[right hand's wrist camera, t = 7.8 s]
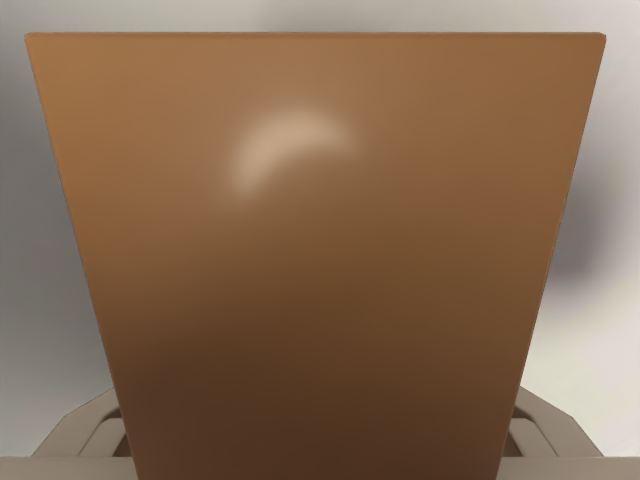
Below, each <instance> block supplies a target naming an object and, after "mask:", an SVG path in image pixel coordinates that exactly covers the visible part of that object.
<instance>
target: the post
mask: <svg viewBox="0 0 640 480" xmlns="http://www.w3.org/2000/svg"><path fill="white" fill-rule="evenodd" d="M25 44H26V48H27V51H28V55H29V59H30V63H31V67H32V71H33V75H34V79H35V82H36V86H37V90H38V94H39V98H40V102H41V106H42V109H43V113H44V117H45V121H46V125H47V129H48V133H49V137H50V140H51V144H52V148H53V152H54V156H55V160H56V164H57V168H58V171H59V175H60V179H61V183H62V187H63V191H64V195H65V199H66V202H67V206H68V210H69V214H70V218H71V222H72V226H73V229H74V233H75V237H76V241H77V245H78V249H79V253H80V257H81V260H82V264H83V268H84V272H85V276H86V280H87V284H88V288H89V291H90V295H91V299H92V303H93V307H94V311H95V315H96V319H97V322H98V326H99V330H100V334H101V338H102V342H103V346H104V350H105V353H106V357H107V361H108V365H109V369H110V373H111V377H112V380H113V384H114V388H115V392H116V396H117V400H118V404H119V408H120V411H121V415H122V419H123V423H124V427H125V431H126V435H127V439H128V442H129V446H130V450H131V454H132V458H133V462H134V466H135V470H136V473H137V477H138V480H496V478H497V474H498V470H499V466H500V462H501V458H502V454H503V450H504V446H505V442H506V438H507V434H508V430H509V426H510V422H511V418H512V414H513V410H514V406H515V402H516V398H517V394H518V390H519V386H520V382H521V378H522V374H523V370H524V366H525V362H526V358H527V354H528V350H529V346H530V342H531V338H532V334H533V330H534V326H535V322H536V318H537V315H538V311H539V307H540V303H541V299H542V295H543V291H544V287H545V283H546V279H547V275H548V271H549V267H550V263H551V259H552V255H553V251H554V247H555V243H556V239H557V235H558V231H559V227H560V223H561V219H562V215H563V211H564V207H565V203H566V199H567V195H568V191H569V187H570V183H571V179H572V175H573V171H574V167H575V163H576V159H577V155H578V151H579V147H580V143H581V139H582V135H583V131H584V127H585V123H586V119H587V115H588V111H589V107H590V103H591V99H592V95H593V91H594V87H595V84H596V80H597V76H598V72H599V68H600V64H601V60H602V56H603V52H604V48H605V44H606V35H604V34H602V33H600V32H31V33H29V34H26V35H25Z"/></svg>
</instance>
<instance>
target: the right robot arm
mask: <svg viewBox="0 0 640 480" xmlns="http://www.w3.org/2000/svg"><path fill="white" fill-rule="evenodd" d="M0 480H138V477H137V473H136V470H135V466H134V462H133V458H132V454H131V450H130V446H129V442H128V439H127V435H126V431H125V427H124V423H123V419H122V415H121V411H120V408H119V404H118V400H117V396H116V392H115V388H114V387H113V388H112V389H110V390H108V391H106V392H105V393H103V394H101V395H100V396H98V397H96V398H95V399H93V400H91V401H89V402H88V403H86V404H84V405H83V406H81V407H79V408H78V409H76V410H74V411H73V412H71V413H69V414H67V415H66V416H64V417H63V418H62V419H61V421H60V422H59V423H58V424H57V425H56V427H55V428H54V429H53V430H52V431H51V433H50V434H49V435H48V436H47V438H46V439H45V440H44V441H43V442H42V444H41V445H40V446H39V447H38V448H37V450H36V451H35V452H34V453H33V454H32V456H31V457H0ZM496 480H640V457H604V456H603V454H602V453H601V452H600V451H599V449H598V448H597V447H596V446H595V444H594V443H593V442H592V441H591V439H590V438H589V437H588V436H587V435H586V433H585V432H584V431H583V430H582V428H581V427H580V426H579V425H578V423H577V422H576V421H575V420H574V418H573V417H571V416H570V415H568V414H566V413H565V412H563V411H561V410H560V409H558V408H556V407H555V406H553V405H551V404H550V403H548V402H546V401H544V400H543V399H541V398H539V397H538V396H536V395H534V394H533V393H531V392H529V391H528V390H526V389H524V388H523V387H521V386H519V390H518V394H517V398H516V402H515V406H514V410H513V414H512V418H511V422H510V426H509V430H508V434H507V438H506V442H505V446H504V450H503V454H502V458H501V462H500V466H499V470H498V474H497V478H496Z"/></svg>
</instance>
